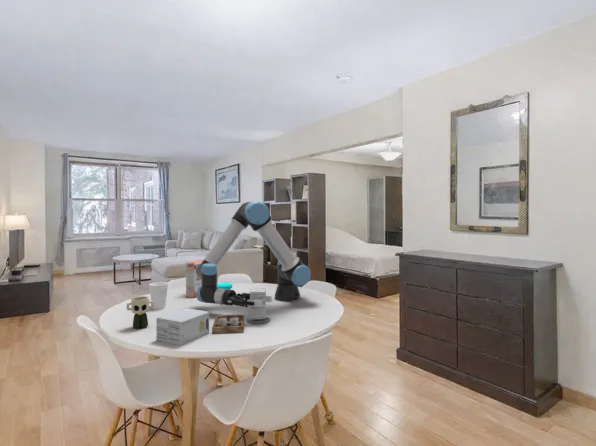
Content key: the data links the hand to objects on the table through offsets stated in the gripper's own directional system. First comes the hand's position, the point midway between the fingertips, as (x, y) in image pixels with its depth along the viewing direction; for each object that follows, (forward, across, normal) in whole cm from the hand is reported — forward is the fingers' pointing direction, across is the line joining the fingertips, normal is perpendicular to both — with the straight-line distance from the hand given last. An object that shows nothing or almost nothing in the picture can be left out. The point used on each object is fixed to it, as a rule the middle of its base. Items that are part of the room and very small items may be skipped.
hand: (266, 301), depth 168 cm
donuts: (-41, -26, -10) cm, 50 cm away
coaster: (-4, 0, -10) cm, 10 cm away
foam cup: (-64, +1, -10) cm, 65 cm away
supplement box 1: (-22, +31, -10) cm, 39 cm away
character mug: (-48, +29, -10) cm, 57 cm away
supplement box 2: (-4, 0, -8) cm, 9 cm away
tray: (-12, +12, -10) cm, 20 cm away
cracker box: (-65, -31, -10) cm, 73 cm away
